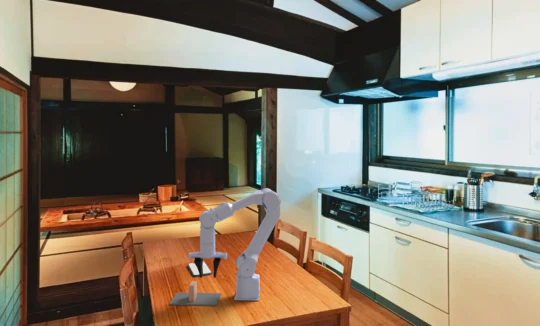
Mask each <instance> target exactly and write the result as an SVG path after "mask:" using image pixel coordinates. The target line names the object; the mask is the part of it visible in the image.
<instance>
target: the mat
mask: <svg viewBox="0 0 540 326" xmlns="http://www.w3.org/2000/svg"><path fill="white" fill-rule="evenodd" d="M221 296H222V293H221V292H197V297H196V299H195V301H194V302H189V292H176V293H175V295H174V296H173V298H172V299H171V301H170V302H169V306H192V307H193V306H194V307H195V306H197V307H199V306H201V307H202V306H203V307H205V306H207V307H209V306H211V307H217V306H218V303H219V301H220V298H221Z"/></svg>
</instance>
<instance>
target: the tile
mask: <svg viewBox="0 0 540 326" xmlns="http://www.w3.org/2000/svg"><path fill="white" fill-rule="evenodd" d="M188 293H189V302H194V301H195V299H196V297H197V293H198V281H196V280H195V281H193V280H192V281H191V282H190V283H189V285H188Z"/></svg>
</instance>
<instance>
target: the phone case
mask: <svg viewBox="0 0 540 326" xmlns="http://www.w3.org/2000/svg"><path fill="white" fill-rule="evenodd" d="M187 267H188V270H189V271H190V274H191V275H192V277H193V278H200V275H199V271H198V269H197V267H196V265H195V263H194V262H190V263H187ZM211 275H213V272H212V270H211V269H210V267H209V265H208V264H207V263H206V262H205V261H203V276H202V277H206V276H211Z"/></svg>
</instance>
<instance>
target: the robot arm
mask: <svg viewBox="0 0 540 326" xmlns="http://www.w3.org/2000/svg"><path fill="white" fill-rule="evenodd" d="M251 205H259V206H263V208H264V211H265V216H264V218H263V220H262V221H261V223H260V224H259V226H258V228H257V230H256V232H255V234H254V235H253V237H252V239H251V241H250V243H249V244H248V246H247V248H246V249H245V250H243V251H242V253H241V254H240V255H239V256H238V257H237V258H236V260H235V265H236V268H237V271H236V273H235V274H236V276H235V277H236V278H235V279H236V282H235V285H236V286H235V287H236V289H235V290H236V292H235V296H234V298H233V299H234V301H255V302H256V301H259V300H260V294H261V287H260V286H261V285H260V284H261V283H260V282H261V281H260V279H261V278H260V277H261V276H260V274H258V273H255V271H256V267H257V263H258V259H259V256H260V253H261V251H262V250H263V248H264V247H265V244H266V243H267V240H268V239H269V237H270V235H271V233H272V231H273V230H274V227H275V226H276V224H277V222H278V221H279V219H280V217H281V198H280V196H279V194H278V193H277V192H275V191H274V190H272V189H270V188H268V187H266V188H264V187H263V188H262V189H260V190H256V191H253V192H252V193H250V194H248V195H245V196H244V197H242V198H240V199H238V200H236V201H234V202H232V203H231V202H225V201H223V202H221V203H220V204H219V205H217V206H215V207H213V208H212V207H210V208H209V210H204V211H202V212H201V213H200V214H199V218H198V219H199V223H200V225H199V226H200V227H199V229H200V231H199V243H200V244H199V246H200V247H199V250H200V251H197V252H195V251H194V252H189V253H188V260H192V259H194V260H193V263H195V265H196V267H197V269H198V271H199V275H200V277H199V278H200V279H201V278H203V277H204V276H203V262H204V260H205V259H209V260H210V259H211V260H212V259H213V261H212V264H213V265H212V266H213V279H215V278H217V275H218V268H219V266H220V263H221V260H222V259H223V260H227V259H228V253H227V252H220V251H216V230H215V229H216V227H215V226H216V223H219V222H222V221H224V220H226V219H229V218H231V217H233V216H234V214H235V213H236V211H239V210H241V209H244V208H246V207H249V206H251Z"/></svg>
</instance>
